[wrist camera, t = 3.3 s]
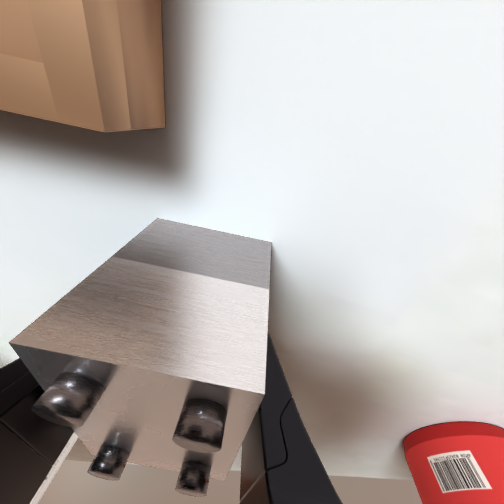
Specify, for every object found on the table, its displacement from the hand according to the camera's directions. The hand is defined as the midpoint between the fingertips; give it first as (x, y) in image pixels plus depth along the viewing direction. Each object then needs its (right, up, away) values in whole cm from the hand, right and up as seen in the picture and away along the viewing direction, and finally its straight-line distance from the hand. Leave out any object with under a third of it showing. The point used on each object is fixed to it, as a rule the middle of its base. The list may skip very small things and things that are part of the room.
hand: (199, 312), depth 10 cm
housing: (0, +1, +1) cm, 2 cm away
